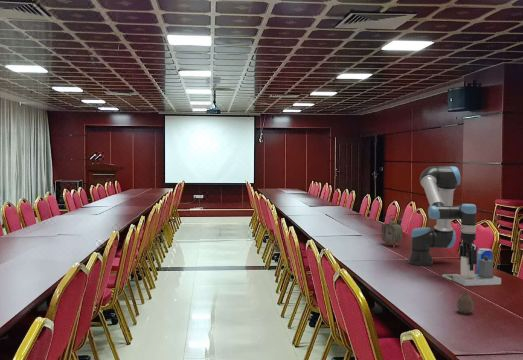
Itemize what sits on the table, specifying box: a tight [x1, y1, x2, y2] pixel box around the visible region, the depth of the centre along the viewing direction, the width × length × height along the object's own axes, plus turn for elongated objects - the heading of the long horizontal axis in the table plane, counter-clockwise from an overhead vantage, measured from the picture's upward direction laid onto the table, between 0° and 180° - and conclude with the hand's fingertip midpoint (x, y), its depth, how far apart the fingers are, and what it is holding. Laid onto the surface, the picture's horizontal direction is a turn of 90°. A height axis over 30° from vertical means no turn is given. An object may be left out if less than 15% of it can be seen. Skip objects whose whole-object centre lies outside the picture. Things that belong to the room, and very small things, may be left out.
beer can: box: [476, 247, 494, 274], centre depth 284 cm, size 8×8×16 cm
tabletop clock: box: [381, 214, 403, 249], centre depth 384 cm, size 14×9×25 cm, turn 25°
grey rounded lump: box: [456, 291, 474, 315], centre depth 217 cm, size 7×7×9 cm
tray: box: [441, 273, 459, 281], centre depth 278 cm, size 9×9×2 cm
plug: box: [460, 253, 476, 279], centre depth 267 cm, size 5×5×14 cm
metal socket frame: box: [452, 273, 502, 287], centre depth 268 cm, size 12×21×4 cm, turn 100°
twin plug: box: [479, 256, 494, 278], centre depth 269 cm, size 5×5×14 cm
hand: (467, 275), depth 267 cm, fingers closed on plug, 5 cm apart
